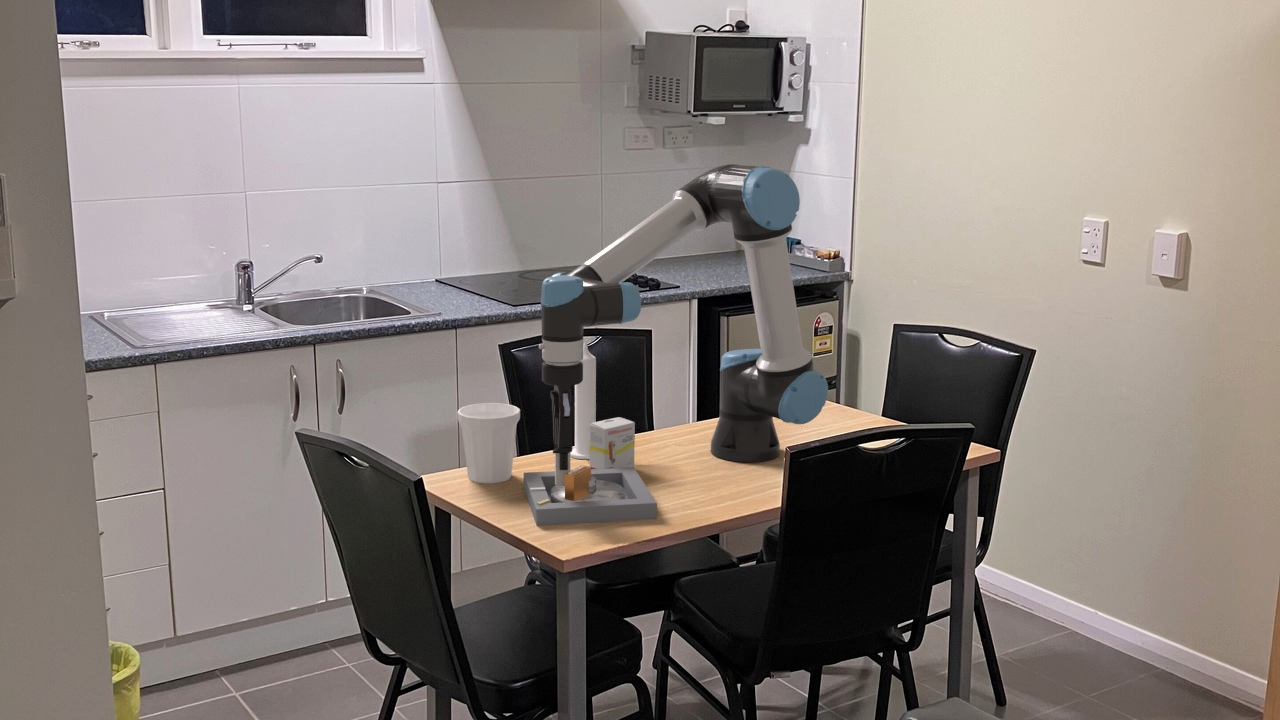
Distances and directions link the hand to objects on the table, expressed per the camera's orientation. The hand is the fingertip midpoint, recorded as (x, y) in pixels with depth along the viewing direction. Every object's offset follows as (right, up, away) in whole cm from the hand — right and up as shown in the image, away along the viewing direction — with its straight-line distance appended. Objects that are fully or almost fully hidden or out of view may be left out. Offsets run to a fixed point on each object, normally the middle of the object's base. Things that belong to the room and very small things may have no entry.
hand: (562, 484), depth 232 cm
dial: (+5, -4, +4) cm, 7 cm away
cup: (-16, -2, +19) cm, 25 cm away
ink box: (+9, -1, +24) cm, 25 cm away
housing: (+4, -5, +4) cm, 8 cm away
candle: (+2, +2, +39) cm, 40 cm away
